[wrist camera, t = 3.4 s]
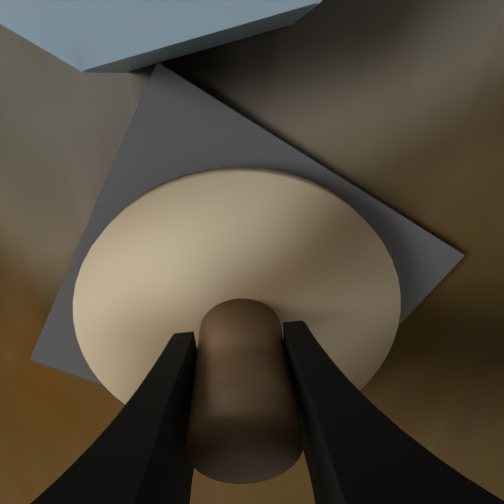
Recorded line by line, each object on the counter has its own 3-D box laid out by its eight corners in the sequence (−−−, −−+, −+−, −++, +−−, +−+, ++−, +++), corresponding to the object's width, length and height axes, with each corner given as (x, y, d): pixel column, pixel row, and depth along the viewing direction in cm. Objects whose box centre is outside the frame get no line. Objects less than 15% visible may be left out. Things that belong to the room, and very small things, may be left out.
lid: (456, 266, 12) (583, 375, 8) (284, 448, 16) (305, 589, 12) (162, 90, 9) (100, 105, 5) (41, 366, 13) (-54, 512, 9)
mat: (458, 250, 13) (464, 255, 13) (283, 439, 18) (284, 447, 17) (159, 62, 10) (156, 62, 10) (34, 352, 14) (29, 359, 14)
